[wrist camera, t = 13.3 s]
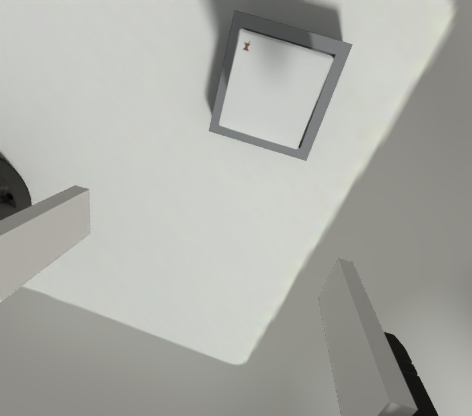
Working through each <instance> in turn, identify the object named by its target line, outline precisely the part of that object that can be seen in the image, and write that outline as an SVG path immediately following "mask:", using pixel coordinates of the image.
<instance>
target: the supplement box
mask: <svg viewBox="0 0 472 416" xmlns="http://www.w3.org/2000/svg"><path fill="white" fill-rule="evenodd" d="M333 60H334V58H333V57H332V56H330V55H327V54H324V53H321V52H317V51H314V50H310V49H307V48H304V47H301V46H297V45H294V44H291V43H288V42H285V41H282V40H277V39H274V38H270V37H267V36H264V35H261V34H257V33H254V32H251V31H248V30H244V29H240V30H239V34H238V39H237V43H236V48H235V52H234V57H233V62H232V66H231V71H230V76H229V80H228V85H227V90H226V94H225V99H224V103H223V108H222V112H221V116H220V121H219V125H220V126H222V127H225V128H228V129H231V130H234V131H237V132H241V133H244V134H247V135H250V136H253V137H257V138H260V139H263V140H266V141H270V142H273V143H276V144H279V145H283V146H286V147H290V148H293V149H298V146H299V144H300V141H301V139H302V136H303V134H304V131H305V129H306V126H307V124H308V121H309V119H310V116H311V114H312V112H313V109H314V107H315V104H316V102H317V100H318V97H319V95H320V92H321V90H322V87H323V85H324V83H325V80H326V78H327V75H328V73H329V70H330V68H331V65H332V63H333Z"/></svg>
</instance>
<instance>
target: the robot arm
mask: <svg viewBox="0 0 472 416" xmlns="http://www.w3.org/2000/svg"><path fill="white" fill-rule="evenodd" d="M89 234H90V203H89V189H86V188H83V187H79V186H76V185H75V186H73V187H71V188H69V189H66V190H64V191H62V192H60V193H58V194H56V195H54V196H52V197H49V198H47V199H45V200H43V201H41V202H39V203H37V204H35V205H32V206H31V200H30V196H29V193H28V190H27V188H26V186H25V184H24V183H23V181H22V179H21V178H20V177H19V175H18V174H17V173H16V172H15V170H14V169H13V168H12V167H11V166H10V165H9V164H7V163H6V162H5V161H4V160H2V159H1V158H0V302H2V301H3V300H4V299H5V298H7V297H8V296H9V295H10V294H12V293H13V292H15V291H16V290H17V289H19V288H20V287H21V286H22V285H24V284H25V283H26V282H28V281H29V280H30V279H32V278H33V277H34V276H36V275H37V274H38V273H39V272H41V271H42V270H43V269H45V268H46V267H47V266H49V265H50V264H51V263H53V262H54V261H55V260H56V259H58V258H59V257H60V256H62V255H63V254H64V253H66V252H67V251H68V250H70V249H71V248H72V247H73V246H75V245H76V244H77V243H79V242H80V241H81V240H83V239H84V238H85V237H87V236H88V235H89ZM318 301H319V306H320V310H321V316H322V321H323V326H324V331H325V336H326V341H327V347H328V352H329V357H330V362H331V367H332V372H333V377H334V383H335V388H336V392H337V397H338V403H339V408H340V413H341V416H438V414H437V412H436V410H435V408H434V406H433V404H432V402H431V400H430V398H429V396H428V394H427V392H426V390H425V388H424V386H423V383H422V382H421V379H420V378H419V376H417V371H416V369H415V367H414V365H412V361H411V359H410V357H409V355H408V353H407V351H406V349H405V348H404V346H403V345H402V344H401V343H400V342H399V340H398V339H397V338H396V337H395V336H394V335H392V334H389V333H386V332H383V330H382V327H381V325H380V323H379V320H378V318H377V316H376V313H375V311H374V310H373V307H372V304H371V302H370V300H369V298H368V295H367V293H366V291H365V289H364V286H363V284H362V282H361V279H360V277H359V275H358V273H357V270H356V268H355V266H354V264H353V262H351V261H347V260H344V259H340V258H338V259H337V261H336V263H335V265H334V267H333V269H332V271H331V273H330V275H329V277H328V279H327V281H326V283H325V285H324V287H323V289H322V291H321V293H320V295H319V297H318Z"/></svg>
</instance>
